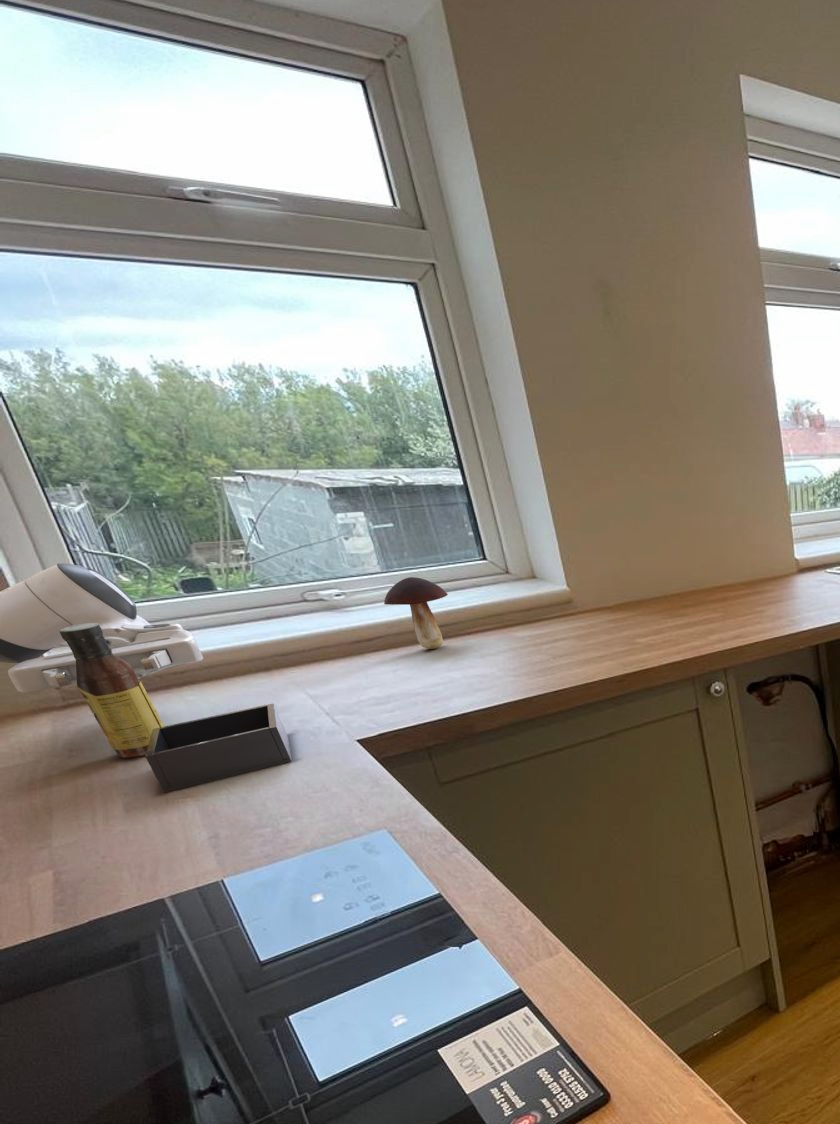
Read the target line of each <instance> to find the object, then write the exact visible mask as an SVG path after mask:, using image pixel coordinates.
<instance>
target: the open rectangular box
mask: <svg viewBox="0 0 840 1124" xmlns="http://www.w3.org/2000/svg"><path fill="white" fill-rule="evenodd" d="M144 756H145V759H146V761H147V763H148V764H149V767H150V768H151V771H152V772H153V774H154V776H155V778H156V781H158V784H159V786H160V788H161V790H162V792H163V793H164V794H166V793H169V792H174V791H178V790H182V789H186V788H190V787H195V786H199V785H202V784H206V783H211V782H214V781H218V780H222V779H226V778H231V777H235V776H239V775H242V774H246V773H247V774H248V773H250V772H254V771H258V770H259V771H260V770H263V769H266V768H270V767H274V766H278V765H283V764H286V763H290V762H291V763H292V756H291V749H290V741H289V735H288V733H287V731H286V728H285V726H284V724H283V722H282V719H281V717H280V715H279V712H278V710H277V708H276V706H275V703H269V704H263V705H257V706H253V707H249V708H244V709H240V710H235V711H231V712H226V713H220V714H216V715H211V716H207V717H203V718H202V717H201V718H197V719H192V720H189V721H184V722H179V723H174V724H169V725H164V727H161V728H155V729H153V731H152V735H151V738H150V742H149V745H148V749H147V752H146V755H144Z"/></svg>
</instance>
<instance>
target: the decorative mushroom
mask: <svg viewBox="0 0 840 1124" xmlns="http://www.w3.org/2000/svg"><path fill="white" fill-rule="evenodd" d="M448 595H449V594H448V593H447V591H446V590H445V589H444V588H442V587H441V586H440V585H438V584H436V583H434V582H432V581H431V580H427V579H425V578H422V577H421V578H420V577H417V576H416V577H414V576H409V577H406V578H403V579H401V580H399V581H398V582H396V583H395V584H394V585H392V587H391V588H390V589H389V590H388V592H386V595H385V598H384V602H383V604H384V605H386V606H387V605H389V606H391V605H392V606H396V605H402V606H404V605H405V606H407V605H408V606H410V614H411V619H412V625H413V628H414V632H415V635H416V638H417V641H418V643H419V644H420V646H421V647H422V648H424V649H428V650H433V649H434V650H435V649H437V648H440V647H441V646H442V645H443V643H444V642H443V641H444V640H443V639H444V638H443V636H442V632H441V629H440V627H439V623H438V622H437V620H436V618H435V616H434V614H433V612H432V609H431V607H430V606H429V603H428V602H432V601H433V602H434V601H437V600H440V599H443V598H445V597H447V596H448Z"/></svg>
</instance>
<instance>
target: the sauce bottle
mask: <svg viewBox="0 0 840 1124" xmlns="http://www.w3.org/2000/svg"><path fill="white" fill-rule="evenodd" d="M59 632H60V634H61V636H62V638H63V639H64V640H65V641H64V642H66V644H67V646H68V647H69V649H70V652H73V654H74V658H75V659H76V677H77V684H76V686H77V688H78V689H79V692H80V694H81V695H82V697H83V699H84V701H85V703H86V704H87V706H88V708H89V709H90V711H91V713H92V715H93V717H94V718H95V721H96V722H97V724H98V725H99V727H100V729H101V731H102V733H103V734H104V736H105V738H106V740H107V741H108V743H109V745H110V747H111V749H113V750H114V751H115V752H116V754H117V756H119V757H120V758H124V759H125V758H139V757H142V756H146V752H147V749H148V745H149V742H150V738H151V735H152V731H153V729H155V728H161V727H164V726H165V724H164V722H163V721H162V719H161V717H160V715H159V713H158V711H157V709H156V708H155V705H154V704H153V702H152V700H151V698H150V696H149V694H148V692H147V690H146V689H145V686H144V685H143V683H142V681H141V680H140V678H139V679H138V677H137V676H136V674H135V672H134V670H133V668H132V667H131V666H130V664H129V663H127V662H126V661H124V660H122V659H121V658H119V657H117V656H116V655H114V654H113V653H112V650H111V648H110V647H109V646H108V644H107V642H106V640H105V638H104V636H103V631H102V629H101V627H100V625H99V624H98V623H86V624H79V625H74V626H70V627H66V628H63V629H61V630H60V631H59Z"/></svg>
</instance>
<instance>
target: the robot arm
mask: <svg viewBox="0 0 840 1124" xmlns="http://www.w3.org/2000/svg"><path fill="white" fill-rule="evenodd" d="M137 613H138V611H137V603H135V601H134V600H133V599H132V597H131V596H130V595H129V594H128V593H127V592H126V591H125V590H124V588H121V587H120V586H119V584H117V583H116V582H114V581H113V580H112V579H110V578H109V577H108V576H106V575H104V574H103V573H101V572H99V571H98V570H95V569H93V568H89V567H85V566H82V565H79V564H72V563H62V562H61V563H60V562H59V563H57V564H54V565H51V566H50V567H48V568H46V569H43V570H41V571H39V572H36V573H35V574H33V575H31V576H29V577H27V578H25V579H24V580H21V581H20V582H17V583H15V584H13V585H11V586H8V587H7V588H5V589H3V590H1V591H0V663H5V664H6V663H7V664H9V663H10V664H15V665H14V666H12V667H11V668H9V669H8V670H7V674H8V677H9V679H10V681H11V682H12V684H13V685H14V688H15V689H16V690H17V691H18V693H34V692H39V691H43V690H49V689H55V688H56V689H58V688H62V687H68V686H72V685H77V677H76V659H75V658H74V654H73V652H72V651H68V652H64V653H58V654H53V655H46V656H43V655H44V654H46V653H48V652H49V651H52V650H53V648H54V647H57V646H58V645H61V644H62V643H64V642H66V641H65V640H64V639H63V638H62V636H61V634H60V632H59V631H60V630H61V629H63V628H66V627H70V626H74V625H79V624H86V623H98V624H99V625H100V627H101V629H102V631H103V636H104V638H105V640H106V642H107V644H108V646H109V647H110V648H111V650H112V653H113V654H114V655H116V656H117V657H119V658H121V659H122V660H124V661H126V662H127V663H129V664H130V666H131V667H132V668H133V670H134V672H135V674H136V676H137V677H138V679H139V680H140V679H141V678H143V677H145V676H149V675H152V674H155V673H157V672H160V671H162V670H166V669H170V668H174V667H179V666H183V665H186V664H192V663H198V662H200V661H203V660H204V656H203V654H202V652H201V649H200V647H199V645H198V643H197V641H196V639H195V637H194V635H193V634H192V633H191V632H190V631H188V630H187V629H184V627H183V626H182V625H181V624H180V623H176V622H175V623H160V624H159V623H158V624H151V623H150V622H149V621H147V620H146V619H144V617H142V616H140V615H138V614H137Z"/></svg>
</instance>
